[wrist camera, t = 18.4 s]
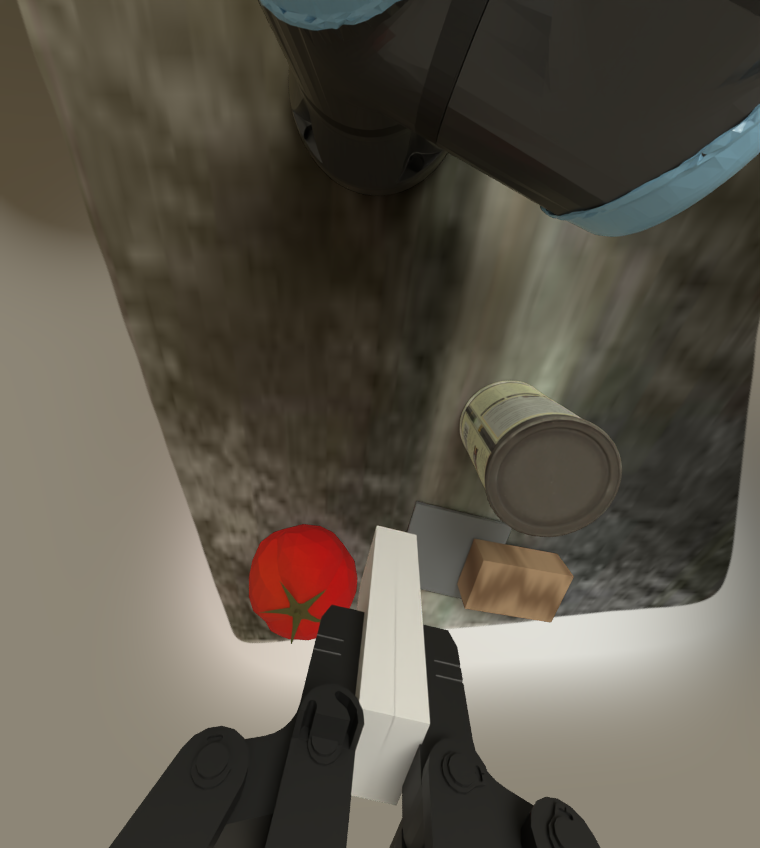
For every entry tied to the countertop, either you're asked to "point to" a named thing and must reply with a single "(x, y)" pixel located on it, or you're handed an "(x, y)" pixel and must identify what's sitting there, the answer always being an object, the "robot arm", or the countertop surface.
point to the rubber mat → (448, 544)
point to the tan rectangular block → (513, 581)
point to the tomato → (300, 579)
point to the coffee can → (539, 460)
